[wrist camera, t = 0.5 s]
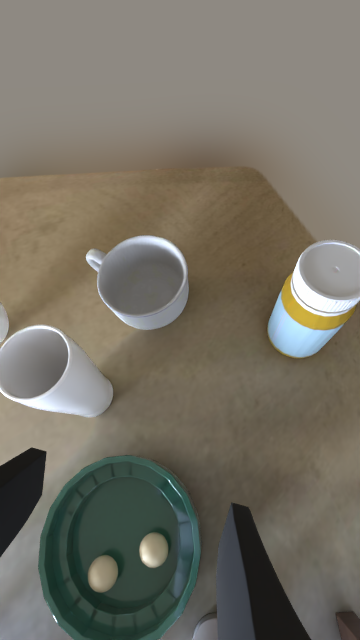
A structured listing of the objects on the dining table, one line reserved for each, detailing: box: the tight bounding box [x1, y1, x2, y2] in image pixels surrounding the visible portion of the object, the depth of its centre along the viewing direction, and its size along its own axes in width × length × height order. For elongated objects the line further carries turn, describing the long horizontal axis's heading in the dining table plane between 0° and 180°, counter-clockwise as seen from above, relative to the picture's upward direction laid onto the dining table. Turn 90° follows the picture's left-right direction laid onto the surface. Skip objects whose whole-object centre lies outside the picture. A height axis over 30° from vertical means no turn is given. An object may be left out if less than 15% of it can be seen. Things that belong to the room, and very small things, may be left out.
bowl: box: [38, 455, 202, 640], centre depth 32 cm, size 15×15×4 cm
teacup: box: [86, 235, 189, 330], centre depth 41 cm, size 14×11×8 cm
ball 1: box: [88, 555, 118, 593], centre depth 30 cm, size 3×3×3 cm
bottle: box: [267, 240, 360, 359], centre depth 34 cm, size 7×7×15 cm
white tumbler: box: [0, 325, 113, 417], centre depth 33 cm, size 7×7×15 cm
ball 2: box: [139, 532, 168, 568], centre depth 31 cm, size 3×3×3 cm
